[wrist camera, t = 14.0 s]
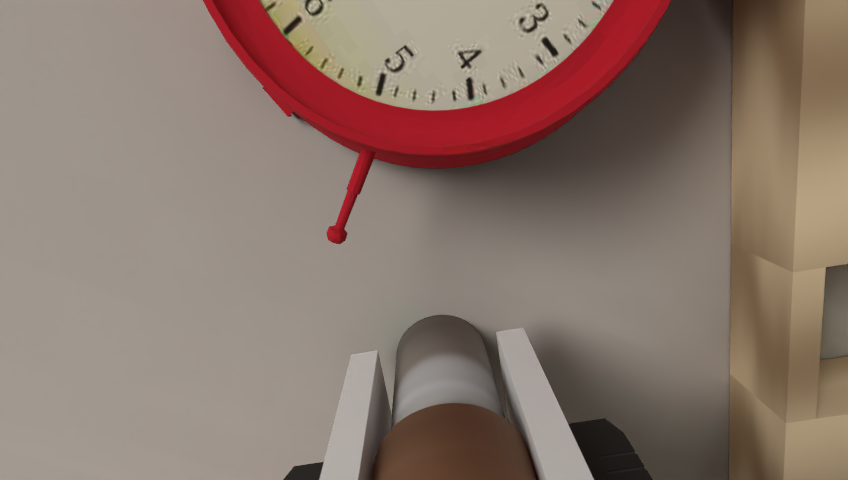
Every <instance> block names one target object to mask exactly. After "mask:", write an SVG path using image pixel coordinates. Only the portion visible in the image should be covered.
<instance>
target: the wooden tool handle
mask: <svg viewBox="0 0 848 480" xmlns="http://www.w3.org/2000/svg"><path fill="white" fill-rule="evenodd" d="M372 480H537V477H536V473H535V470H534V467H533V464H532V461H531V458H530V455H529V451H528V448H527V445H526V443H525V441H524V439H523V437H522V436H521V434H520V433H519V432H518V431H517V429H516V428H515V427H514V426H513V425H512V424H511V423H510V422H509V421H507V420H506V419H505V416H504V413H503V409H502V405H501V402H500V398H499V395H498V391H497V387H496V384H495V380H494V377H493V373H492V369H491V366H490V362H489V359H488V355H487V352H486V348H485V344H484V342H483V339H482V337H481V335H480V334H479V333H478V331H477V330H476V329H475V328H474V327H473V326H472V325H471V324H469V323H468V322H466V321H464V320H462V319H460V318H457V317H454V316H448V315H436V316H431V317H427V318H424V319H422V320H420V321H418V322H416V323H415V324H413V325H412V326H411V327H410V328H409V329H408V330H407V331H406V332H405V333H404V335H403V336H402V338H401V340H400V342H399V345H398V349H397V357H396V370H395V383H394V396H393V408H392V421H391V430H390V431H389V432H388V433H387V435H386V436H385V437H384V439H383V440H382V442H381V444H380V446H379V448H378V451H377V454H376V457H375V463H374V470H373V479H372Z"/></svg>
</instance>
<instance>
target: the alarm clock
mask: <svg viewBox="0 0 848 480" xmlns="http://www.w3.org/2000/svg"><path fill="white" fill-rule="evenodd" d="M203 1H204V3H205V5H206V7H207V9H208V11H209V13H210V15H211V16H212V18H213V19H214V21H215V23H216V24H217V26H218V28H219V29H220V31H221V33H222V35H223V36H224V38H225V40H226V41H227V43H228V44H229V45H230V47H231V48H232V49H233V51H234V52H235V53H236V55H237V56H238V57H239V58H240V60H241V61H242V62H243V64H244V65H245V66H246V68H247V69H248V70H249V71H250V72H251V73H252V74H253V75H254V77H255V78H256V79H257V80H258V81H259V82H260V83H261V84H262V85H263V86H264V87H263V89H264V90H265V91H266V92H267V93H268V94H269V96H270V97H271V98H272V99H273V100H274V101H275V102H276V104H277V105H278V106H279V107H280V108H281V109H282V110H283V111H284V113H285V114H286V115H287V116H288V117H290V116H291V114H292V113H293V112H294V113H296V114H297V115H298V116H300V117H301V118H302V119H304V120H305V121H306V122H308V123H309V124H310V125H311V126H313V127H314V128H316V129H317V130H318V131H320V132H321V133H323V134H324V135H326V136H327V137H329V138H330V139H332V140H334V141H336V142H338V143H339V144H341V145H343V146H345V147H347V148H349V149H351V150H353V151H356V152H358V153H360V154H359V157H358V160H357V162H356V165H355V168H354V170H353V173H352V176H351V179H350V181H349V184H348V187H347V190H348V191H347V194H346V197H345V200H344V203H343V205H342V208H341V211H340V214H339V217H338V220H337V222H336V225H335V226H330V227H329V229H328V231H327V237H328V240H329V241H331V242H333V243H336V244H341V243H342V242H344V241H345V239H346V236H347V232H346V231H345V230H344V228H345V225H346V223H347V220H348V218H349V215H350V213H351V210H352V208H353V205H354V203H355V200H356V198H357V195H358V194H360V192H361V190H362V187H363V184H364V182H365V179H366V177H367V174H368V172H369V169H370V167H371V164H372V162H373V159H377V160H381V161H385V162H388V163H392V164H397V165H403V166H409V167H419V168H452V167H463V166H469V165H475V164H480V163H484V162H488V161H492V160H495V159H498V158H502V157H505V156H507V155H510V154H512V153H515V152H517V151H519V150H522V149H524V148H526V147H528V146H530V145H532V144H534V143H536V142H537V141H539V140H541V139H543V138H544V137H546V136H548V135H549V134H551V133H552V132H554V131H555V130H557V129H558V128H559V127H561V126H562V125H564V124H565V123H566V122H568V121H569V120H570V119H571V118H572V117H574V116H575V115H576V114H577V113H578V112H579V111H581V110H582V109H583V108H584V107H585V106H587V105H588V104H589V103H591V102H592V101H593V100H594V99H595V98H596V97H597V96H598V95H600V94H601V93H602V92H603V91H604V90H605V89H606V88H608V87H609V86H610V85H611V84H612V82H613V81H614V80H615V79H616V78H617V77H618V76H619V75H620V74H621V73H622V72H623V71H624V70H625V69H626V68H627V67H628V65H629V64H630V63H631V62H632V60H633V59H634V58H635V56H636V55H637V54H638V53H639V51H640V50H641V49H642V48H643V46H644V45H645V43H646V42H647V40H648V39H649V37H650V36H651V34H652V33H653V31H654V30H655V28H656V27H657V25H658V24H659V22H660V20H661V18H662V17H663V15H664V13H665V11H666V9H667V8H668V6H669V4H670V2H671V0H203Z"/></svg>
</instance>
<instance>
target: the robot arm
mask: <svg viewBox="0 0 848 480" xmlns="http://www.w3.org/2000/svg"><path fill="white" fill-rule="evenodd" d="M496 335H497V342H498V349H499V357H500V364H501V371H502V379H503V386H504V393H505V401H506V408H507V415H508V419H509V422H510V423H511V424H512V425H513V426H514V427H515V428H516V429H517V431H518V432H519V433H520V434H521V436H522V437H523V439H524V441H525V443H526V445H527V448H528V451H529V455H530V458H531V461H532V464H533V467H534V470H535V473H536V477H537V480H652V478H651V476H650V475H649V473H648V472H647V470H645V468H644V465H643V463H642V462H641V460H640V459H639V457H638V455H637V454H635V451H634V449H633V447H632V446H631V444H630V442H629V441H628V439H627V438H626V436H625V434H624V433H623V432H622V431H621V430H619V429H618V428H617V427H615V426H614V425H612V424H611V423H610V422H608V421H607V420H606V419H598V420H591V421H585V422H578V423H571V424H568V423H567V421H566V419H565V416H564V414H563V412H562V410H561V408H560V406H559V403H558V401H557V399H556V397H555V395H554V393H553V391H552V388H551V386H550V384H549V382H548V380H547V378H546V376H545V373H544V371H543V369H542V367H541V365H540V363H539V361H538V358H537V356H536V354H535V352H534V350H533V348H532V345H531V343H530V341H529V339H528V337H527V335H526V333H525V330H524V328H518V329H512V330H505V331H499V332H496ZM391 421H392V415H391V410H390V406H389V401H388V396H387V391H386V387H385V382H384V377H383V373H382V368H381V363H380V358H379V354H378V350H377V351H370V352H364V353H357V354H351V357H350V361H349V365H348V369H347V373H346V377H345V381H344V385H343V389H342V393H341V396H340V400H339V404H338V408H337V412H336V416H335V420H334V424H333V428H332V432H331V436H330V440H329V444H328V447H327V451H326V455H325V459H324V462H321V463H314V464H307V465H300V466H294V467H293V468H292V470H291V471H290V472H289V473H288V475H287V476H286V477H285V478H284V480H372V479H373V470H374V463H375V457H376V454H377V451H378V448H379V446H380V444H381V442H382V440H383V439H384V437H385V436H386V435H387V433H388V432H389V431H390V430H391Z"/></svg>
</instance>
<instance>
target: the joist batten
mask: <svg viewBox="0 0 848 480" xmlns="http://www.w3.org/2000/svg"><path fill="white" fill-rule="evenodd" d="M844 264H848V0H733V61H732V180H731V298H730V417H729V480H848V356H845V357H839V358H832V359H825V360H820V348H821V333H822V317H823V302H824V287H825V271H826V267H831V266H837V265H844Z"/></svg>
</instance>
